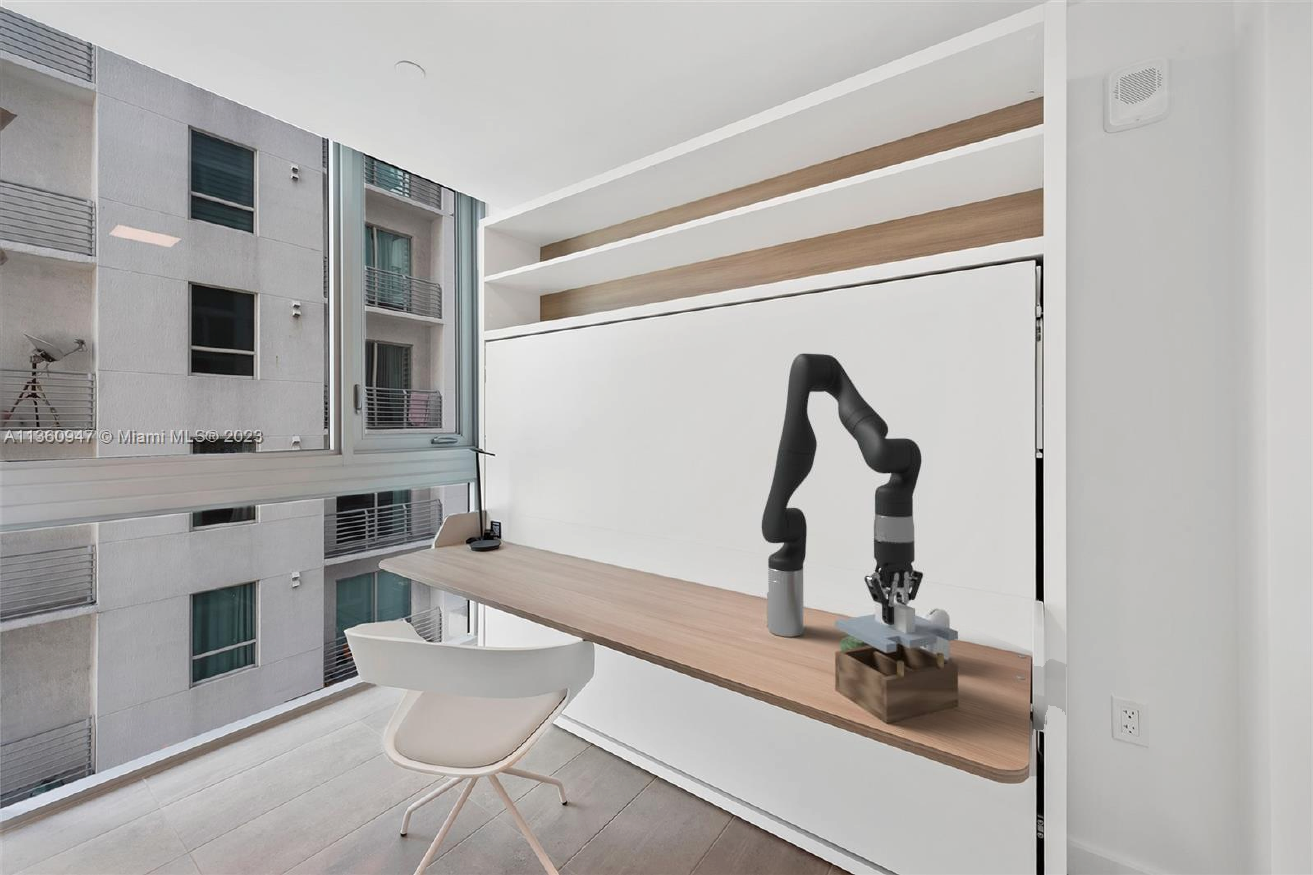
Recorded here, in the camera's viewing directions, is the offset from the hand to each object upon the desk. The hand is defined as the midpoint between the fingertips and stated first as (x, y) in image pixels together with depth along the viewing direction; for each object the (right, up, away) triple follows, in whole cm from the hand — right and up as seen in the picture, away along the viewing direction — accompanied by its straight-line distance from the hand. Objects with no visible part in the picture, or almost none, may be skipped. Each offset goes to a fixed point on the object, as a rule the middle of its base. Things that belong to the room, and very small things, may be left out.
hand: (894, 622), depth 108 cm
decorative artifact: (+2, -15, +22) cm, 27 cm away
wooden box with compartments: (0, -15, 0) cm, 15 cm away
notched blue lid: (0, -2, 0) cm, 2 cm away
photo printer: (+16, -15, +16) cm, 28 cm away
